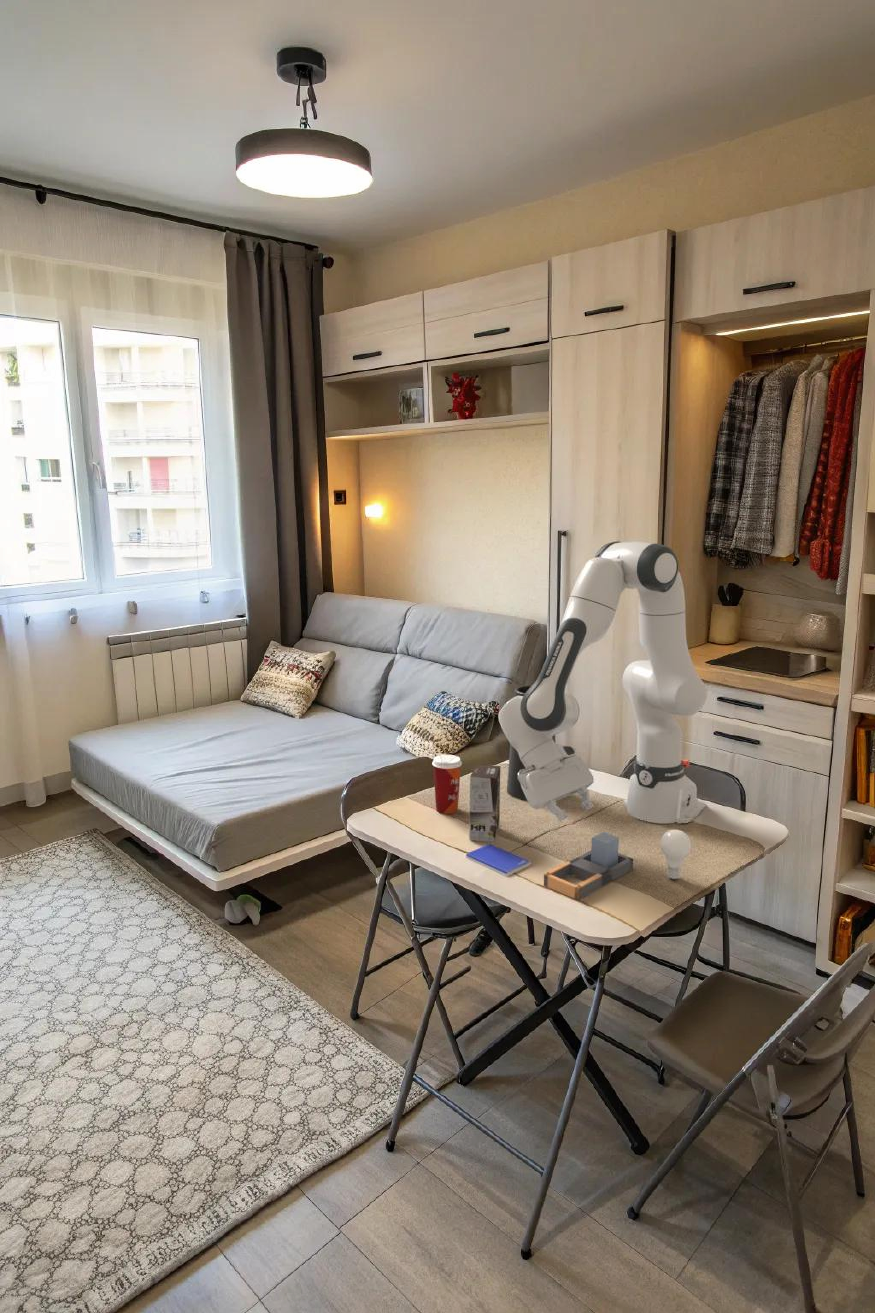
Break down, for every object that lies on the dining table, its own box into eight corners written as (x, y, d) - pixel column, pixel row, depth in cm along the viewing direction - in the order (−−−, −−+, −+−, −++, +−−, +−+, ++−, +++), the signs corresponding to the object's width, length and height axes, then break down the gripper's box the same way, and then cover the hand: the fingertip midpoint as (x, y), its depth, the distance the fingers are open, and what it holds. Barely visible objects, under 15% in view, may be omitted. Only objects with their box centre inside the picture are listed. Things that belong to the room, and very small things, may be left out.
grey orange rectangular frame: (598, 856, 190) (599, 845, 189) (632, 869, 183) (633, 857, 183) (543, 885, 176) (544, 873, 175) (578, 900, 170) (578, 887, 169)
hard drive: (531, 860, 185) (490, 843, 194) (506, 871, 180) (465, 853, 189) (531, 867, 186) (490, 849, 195) (506, 878, 180) (465, 859, 189)
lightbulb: (693, 878, 179) (697, 830, 177) (680, 888, 175) (683, 839, 172) (666, 869, 183) (669, 822, 181) (652, 879, 179) (655, 831, 177)
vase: (564, 798, 225) (568, 694, 219) (517, 803, 221) (519, 697, 215) (545, 781, 237) (548, 682, 231) (500, 785, 234) (501, 685, 228)
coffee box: (495, 843, 197) (496, 778, 193) (468, 840, 198) (469, 776, 195) (500, 827, 205) (501, 765, 202) (474, 825, 207) (475, 763, 203)
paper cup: (459, 816, 212) (460, 764, 209) (429, 814, 213) (429, 762, 210) (463, 805, 220) (463, 754, 217) (434, 803, 221) (434, 753, 218)
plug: (602, 863, 186) (603, 831, 185) (617, 869, 184) (618, 837, 182) (590, 869, 183) (591, 837, 182) (605, 875, 180) (607, 843, 179)
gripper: (522, 764, 182) (556, 819, 177) (578, 745, 196) (611, 795, 191) (506, 778, 186) (539, 832, 181) (562, 758, 200) (594, 808, 195)
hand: (576, 813), depth 187 cm, fingers open, 8 cm apart
